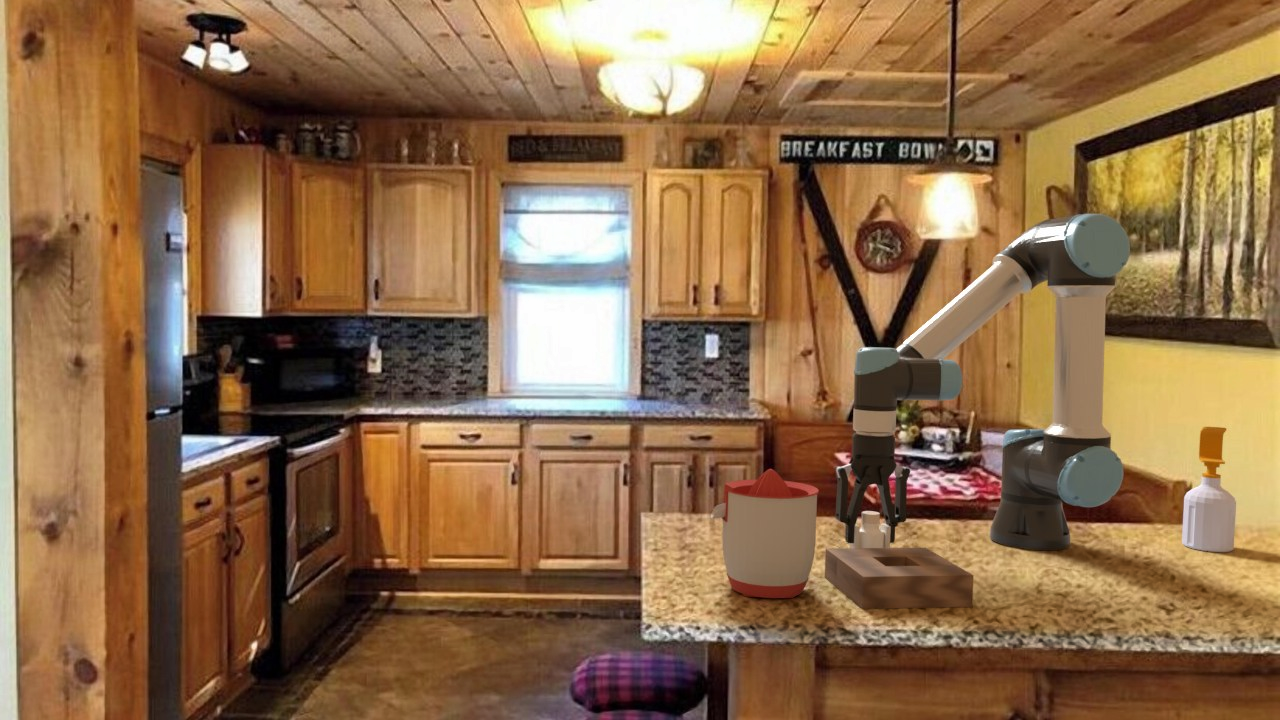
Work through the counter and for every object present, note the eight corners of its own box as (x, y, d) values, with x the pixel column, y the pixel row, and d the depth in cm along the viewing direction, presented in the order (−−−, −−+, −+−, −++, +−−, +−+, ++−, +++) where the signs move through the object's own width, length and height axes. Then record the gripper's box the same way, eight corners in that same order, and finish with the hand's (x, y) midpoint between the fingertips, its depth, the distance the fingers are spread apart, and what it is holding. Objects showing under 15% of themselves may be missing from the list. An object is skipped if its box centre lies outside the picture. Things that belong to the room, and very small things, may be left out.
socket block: (924, 575, 175) (925, 547, 175) (972, 606, 157) (973, 575, 157) (824, 577, 173) (825, 548, 172) (862, 608, 155) (863, 576, 155)
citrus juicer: (706, 575, 172) (709, 459, 171) (808, 578, 171) (812, 462, 170) (710, 602, 156) (713, 475, 155) (822, 606, 156) (826, 478, 155)
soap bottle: (1185, 549, 200) (1191, 427, 199) (1179, 540, 208) (1185, 422, 207) (1236, 555, 196) (1243, 430, 195) (1229, 545, 205) (1235, 425, 204)
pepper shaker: (865, 560, 185) (867, 509, 184) (884, 565, 182) (886, 513, 181) (853, 564, 182) (855, 512, 182) (872, 568, 179) (874, 515, 179)
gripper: (913, 430, 186) (908, 554, 187) (818, 430, 183) (814, 555, 184) (930, 436, 178) (925, 565, 180) (832, 435, 176) (827, 566, 177)
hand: (869, 560), depth 182 cm, fingers closed on pepper shaker, 5 cm apart
